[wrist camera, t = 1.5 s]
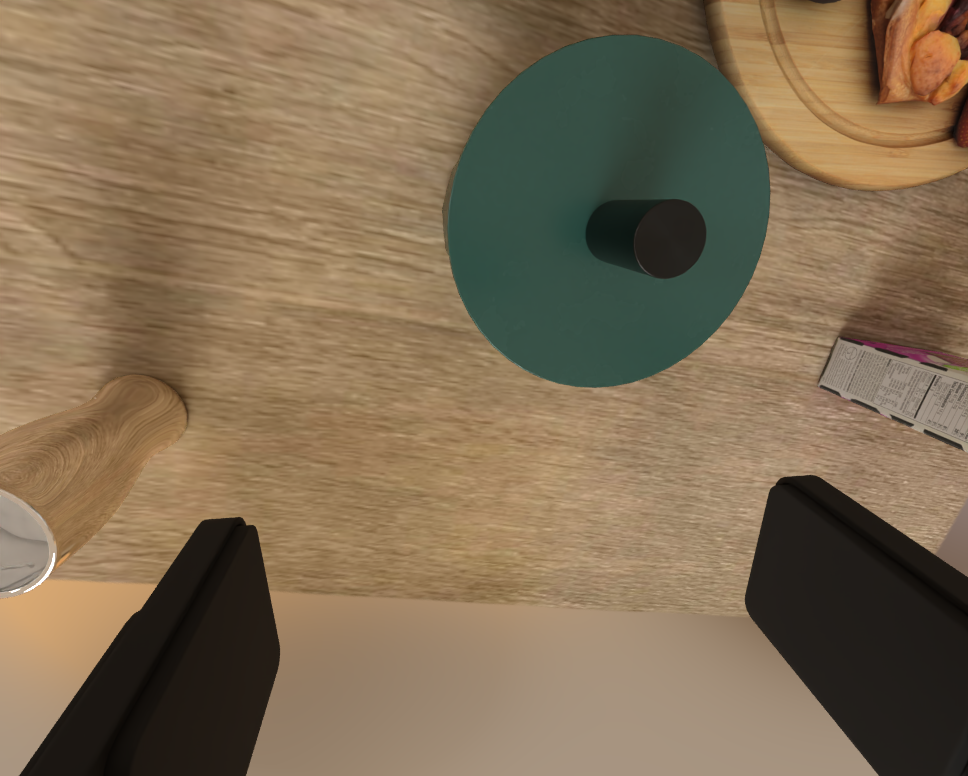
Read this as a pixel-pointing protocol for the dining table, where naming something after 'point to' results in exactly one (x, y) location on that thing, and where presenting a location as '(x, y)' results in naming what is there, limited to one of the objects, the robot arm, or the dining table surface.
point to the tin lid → (608, 211)
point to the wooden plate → (852, 85)
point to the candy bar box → (903, 386)
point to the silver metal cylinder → (77, 473)
